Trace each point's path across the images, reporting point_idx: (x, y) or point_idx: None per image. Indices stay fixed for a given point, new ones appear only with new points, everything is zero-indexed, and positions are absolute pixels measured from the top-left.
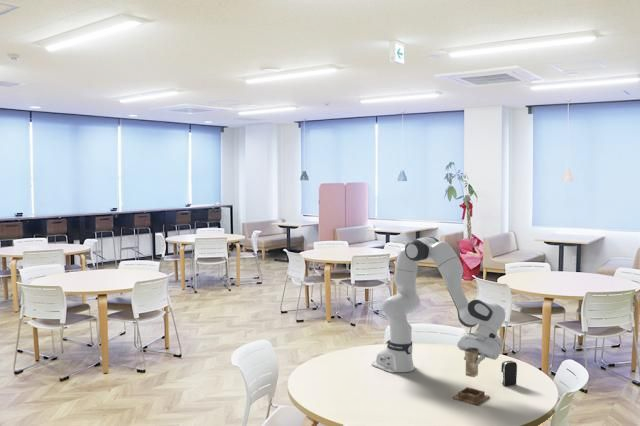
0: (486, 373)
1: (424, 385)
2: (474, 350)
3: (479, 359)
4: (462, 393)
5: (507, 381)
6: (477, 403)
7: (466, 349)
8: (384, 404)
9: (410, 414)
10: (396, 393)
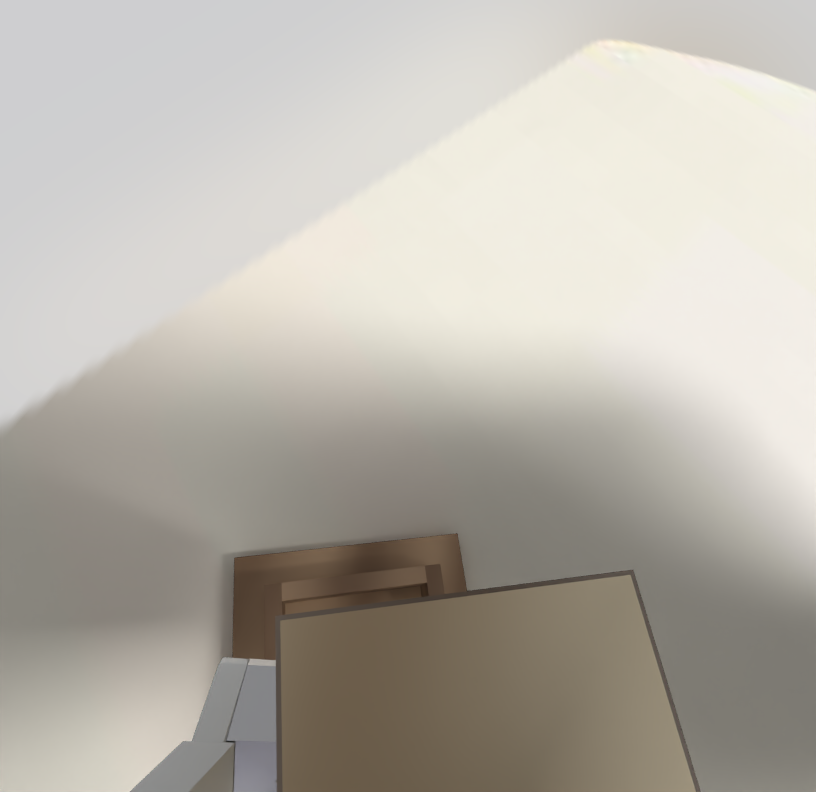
0: None
1: (758, 602)
2: (308, 697)
3: (179, 750)
4: (400, 571)
5: None
6: (240, 565)
7: (604, 573)
8: (621, 216)
9: (462, 199)
10: (713, 353)
